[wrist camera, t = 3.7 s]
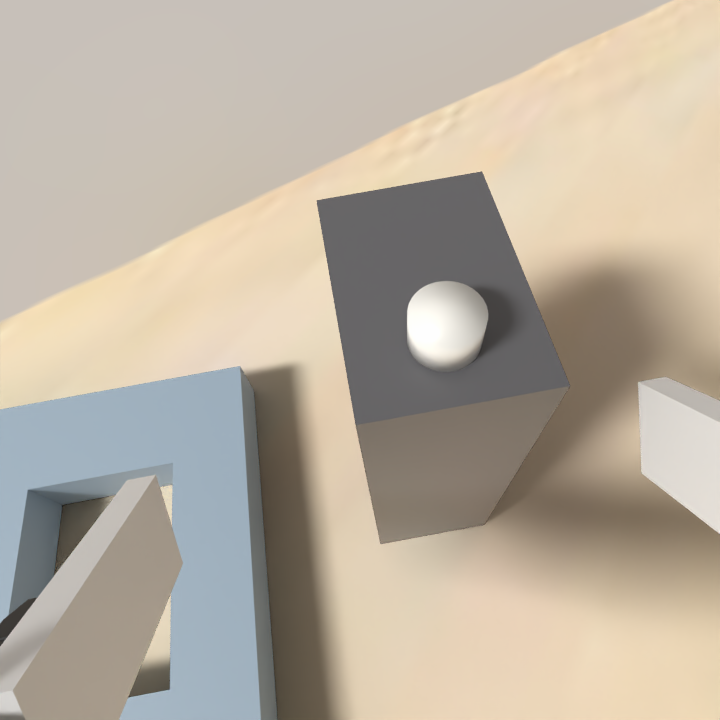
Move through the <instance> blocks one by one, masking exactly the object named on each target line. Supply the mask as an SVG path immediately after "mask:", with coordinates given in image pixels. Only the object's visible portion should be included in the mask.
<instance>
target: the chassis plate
mask: <svg viewBox="0 0 720 720" xmlns="http://www.w3.org/2000/svg"><path fill="white" fill-rule="evenodd" d="M151 475H156V476H157V480H158V483H159V486H160V487H161V486H167V485H172V484H173V494H172V529H173V532H174V535H175V538H176V542H177V545H178V548H179V552H180V555H181V558H182V561H183V565H182V567H181V570H180V572H179V575H178V577H177V580H176V582H175V584H174V587H173V589H172V592H171V641H170V690H165V691H160V692H155V693H149V694H144V695H139V696H134V697H128V699H127V702H126V704H125V706H124V709H123V711H122V714H121V716H120V719H119V720H278V718H277V704H276V690H275V676H274V662H273V648H272V634H271V620H270V607H269V593H268V579H267V565H266V551H265V537H264V523H263V509H262V495H261V481H260V467H259V454H258V440H257V426H256V412H255V398H254V390H253V388H252V386H251V384H250V383H249V381H248V379H247V377H246V376H245V374H244V372H243V370H242V369H241V367H240V366H238V367H233V368H227V369H222V370H216V371H211V372H205V373H200V374H194V375H189V376H183V377H178V378H172V379H166V380H161V381H155V382H150V383H144V384H139V385H133V386H128V387H122V388H117V389H111V390H106V391H100V392H95V393H89V394H84V395H78V396H72V397H67V398H61V399H56V400H50V401H45V402H39V403H34V404H28V405H23V406H17V407H12V408H6V409H1V410H0V623H1V622H2V621H3V619H5V618H6V617H7V616H8V615H9V614H11V613H12V612H13V611H14V610H16V609H17V608H18V607H19V606H20V605H22V604H23V603H24V602H25V601H27V600H28V599H32V598H37V597H38V596H39V595H40V594H41V592H42V591H43V590H44V588H45V587H46V586H47V585H48V583H49V582H50V581H51V579H52V578H53V577H54V571H55V563H56V554H57V546H58V538H59V529H60V521H61V512H62V505H64V504H69V503H75V502H80V501H85V500H91V499H96V498H102V497H107V496H113V495H116V494H117V493H118V491H119V490H120V489H121V488H122V486H123V485H124V484H125V482H126V481H127V480H130V479H136V478H141V477H146V476H151Z"/></svg>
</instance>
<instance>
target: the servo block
mask: <svg viewBox="0 0 720 720" xmlns="http://www.w3.org/2000/svg"><path fill="white" fill-rule="evenodd" d="M317 206H318V211H319V217H320V223H321V229H322V234H323V240H324V246H325V252H326V257H327V263H328V269H329V275H330V280H331V286H332V292H333V298H334V303H335V309H336V315H337V321H338V326H339V332H340V338H341V343H342V349H343V355H344V361H345V366H346V372H347V378H348V384H349V389H350V395H351V401H352V407H353V412H354V418H355V424H356V429H357V434H358V438H359V443H360V448H361V453H362V458H363V462H364V467H365V472H366V477H367V482H368V486H369V491H370V496H371V501H372V505H373V510H374V515H375V520H376V525H377V529H378V534H379V539H380V544H384V543H390V542H395V541H400V540H406V539H411V538H416V537H422V536H427V535H432V534H438V533H443V532H448V531H454V530H459V529H464V528H470V527H475V526H480V525H484V524H485V523H486V521H487V519H488V518H489V516H490V515H491V513H492V511H493V510H494V508H495V507H496V505H497V503H498V502H499V500H500V499H501V497H502V495H503V494H504V492H505V490H506V489H507V487H508V486H509V484H510V482H511V481H512V479H513V478H514V476H515V474H516V473H517V471H518V469H519V468H520V466H521V465H522V463H523V461H524V460H525V458H526V457H527V455H528V453H529V452H530V450H531V449H532V447H533V445H534V444H535V442H536V440H537V439H538V437H539V436H540V434H541V432H542V431H543V429H544V428H545V426H546V424H547V423H548V421H549V419H550V418H551V416H552V415H553V413H554V411H555V410H556V408H557V407H558V405H559V403H560V402H561V400H562V399H563V397H564V395H565V394H566V392H567V390H568V389H569V387H570V384H569V382H568V379H567V377H566V374H565V372H564V370H563V367H562V365H561V362H560V360H559V357H558V355H557V353H556V350H555V348H554V345H553V343H552V340H551V338H550V336H549V333H548V331H547V328H546V326H545V323H544V321H543V319H542V316H541V314H540V311H539V309H538V306H537V304H536V302H535V299H534V297H533V294H532V292H531V289H530V287H529V285H528V282H527V280H526V277H525V275H524V272H523V270H522V268H521V265H520V263H519V260H518V258H517V255H516V253H515V251H514V248H513V246H512V243H511V241H510V238H509V236H508V234H507V231H506V229H505V226H504V224H503V221H502V219H501V217H500V214H499V212H498V209H497V207H496V204H495V202H494V200H493V197H492V195H491V192H490V190H489V187H488V185H487V183H486V180H485V178H484V175H483V173H482V172H477V173H471V174H465V175H459V176H454V177H448V178H442V179H437V180H431V181H425V182H419V183H414V184H408V185H402V186H397V187H391V188H385V189H379V190H374V191H368V192H362V193H357V194H351V195H345V196H339V197H334V198H328V199H322V200H317Z"/></svg>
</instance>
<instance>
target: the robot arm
mask: <svg viewBox="0 0 720 720" xmlns="http://www.w3.org/2000/svg"><path fill="white" fill-rule="evenodd" d="M638 392H639V418H640V444H641V470H642V474H643V475H644V476H646V477H647V478H648V479H650V480H651V481H652V482H653V483H655V484H656V485H657V486H659V487H660V488H661V489H662V490H664V491H665V492H666V493H668V494H669V495H670V496H671V497H673V498H674V499H675V500H677V501H678V502H679V503H680V504H682V505H683V506H684V507H686V508H687V509H688V510H689V511H691V512H692V513H693V514H695V515H696V516H697V517H698V518H700V519H701V520H702V521H704V522H705V523H706V524H707V525H709V526H710V527H711V528H713V529H714V530H715V531H716V532H718V533H719V534H720V401H719V400H717V399H715V398H713V397H710V396H708V395H706V394H704V393H701V392H699V391H697V390H695V389H692V388H690V387H688V386H686V385H683V384H681V383H679V382H677V381H674V380H672V379H670V378H668V377H661V378H656V379H651V380H646V381H640V382H638ZM182 565H183V561H182V558H181V555H180V552H179V548H178V545H177V542H176V538H175V535H174V532H173V529H172V525H171V522H170V519H169V516H168V512H167V509H166V506H165V503H164V499H163V496H162V493H161V489H160V486H159V483H158V480H157V476H156V475H151V476H146V477H141V478H136V479H130V480H127V481H126V482H125V484H124V485H123V486H122V488H121V489H120V490H119V491H118V493H117V494H116V495H115V497H114V498H113V499H112V501H111V502H110V503H109V505H108V506H107V507H106V508H105V510H104V511H103V512H102V514H101V515H100V516H99V518H98V519H97V520H96V522H95V523H94V524H93V526H92V527H91V528H90V529H89V531H88V532H87V533H86V535H85V536H84V537H83V539H82V540H81V541H80V543H79V544H78V545H77V547H76V548H75V549H74V550H73V552H72V553H71V554H70V556H69V557H68V558H67V560H66V561H65V562H64V564H63V565H62V566H61V568H60V569H59V570H58V571H57V573H56V574H55V575H54V577H53V578H52V579H51V581H50V582H49V583H48V585H47V586H46V587H45V588H44V590H43V591H42V592H41V594H40V595H39V596H38V597H37V598H32V599H28V600H27V601H25V602H24V603H23V604H22V605H20V606H19V607H18V608H17V609H16V610H14V611H13V612H12V613H11V614H9V615H8V616H7V617H6V618H5V619H3V621H2V622H1V623H0V720H119V719H120V716H121V714H122V711H123V709H124V706H125V704H126V702H127V699H128V697H129V694H130V692H131V689H132V687H133V684H134V682H135V680H136V677H137V675H138V672H139V670H140V667H141V665H142V662H143V660H144V658H145V655H146V653H147V650H148V648H149V645H150V643H151V641H152V638H153V636H154V633H155V631H156V628H157V626H158V623H159V621H160V619H161V616H162V614H163V611H164V609H165V606H166V604H167V601H168V599H169V597H170V594H171V592H172V589H173V587H174V584H175V582H176V580H177V577H178V575H179V572H180V570H181V567H182Z"/></svg>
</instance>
